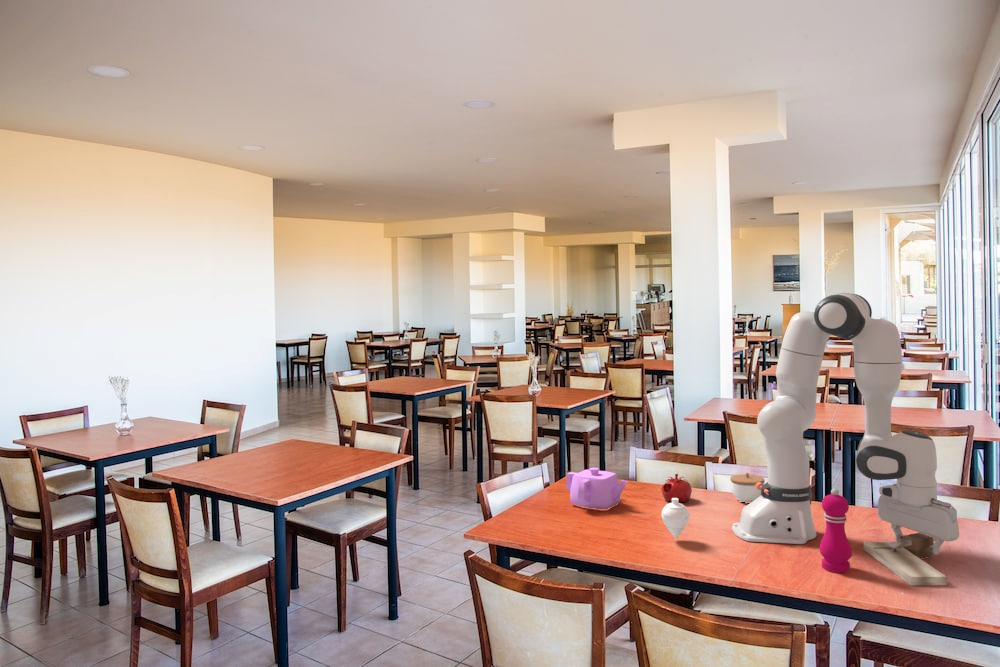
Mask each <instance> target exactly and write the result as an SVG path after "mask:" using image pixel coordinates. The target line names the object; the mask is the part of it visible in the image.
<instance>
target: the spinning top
mask: <svg viewBox="0 0 1000 667" xmlns="http://www.w3.org/2000/svg"><path fill="white" fill-rule="evenodd" d="M678 500H679V499H678V498H672V502H669V503H666V504H665V506H664V507H663V508H662V510H661V519H662V521H663V523H664V525H665V527H666V528H667V530H668V531H669V533H670V534H671V535H672V536H673V537H674V538H675V539H674V541H677V540H678V537H679V536H680V535H681V534H682V533H683V531H684V530H685V529H686V527H687V525H688V523H689V520H690V512H689V509H688V508H687V507H686V506H685V505H684V504H683V503H678Z"/></svg>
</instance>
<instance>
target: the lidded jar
mask: <svg viewBox="0 0 1000 667" xmlns="http://www.w3.org/2000/svg"><path fill="white" fill-rule="evenodd" d="M765 480H766V479H765V478H764V477H762V476H761V475H757V474H750V473H749V472H745V473H742V474H741V473H738V474H735V475H734V474H733V475H731V476H730V480H729V481H730V487H731V492H732V495H733V496H734V497H735V498H736V499H737V501H738V500H740V501H743V502H753V501H754V500H755V499H757V498H758V497H760V496H761V490H758V489H757V488H756V486H755V484H757V482H760V483H762V484H763V485H764V484H765Z"/></svg>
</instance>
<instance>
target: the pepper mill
mask: <svg viewBox="0 0 1000 667" xmlns="http://www.w3.org/2000/svg"><path fill="white" fill-rule="evenodd" d="M839 493H840V492H839V490H838V489H837V488H832V489H831V490H830V494H827V495H825V496H824V497H823V498H822V501H821V508H822V510H823V512H824V513H823V515H824V517H823V519H824V520H825V522H826V523H825V531H824V535H823V536H822V539H821V540H820V544H819V553H820V555H821V556H822V559H821V567H822V569H824V570H826V571H828V572H830V573H834V574H845V573H849V572H850V571H851V563H850V561H849V560H850V559H851V558H852V556H853V550H852V549H853V548H852V545H851V543H850V541H849V539H848V537H847V534H846V531H845V527H846V526H845V524H846V522H847V517H848V516H847V515H846V514H847V513H848V512H849V501H848V500H847V499H846V498H845V497H844V496H842V495H840V494H839Z"/></svg>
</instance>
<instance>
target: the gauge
mask: <svg viewBox="0 0 1000 667" xmlns="http://www.w3.org/2000/svg"><path fill="white" fill-rule="evenodd" d="M904 535H905V536H902V541H892V542H893V543H890V547H892V548H894V552H897V548H899V547H903V548H905V549H906V550H908V551H909V552H911V553H912V554H914V555H915V556H917V557H918V558H920V559H921V560H922V558H924V559H927V558H926V557H928V558H932V557H931V556H933V557H934V555H935V554H932V553H930V552H929V550H930V549H929V546H932V545H934V543H935V541H933V537H932V536H929V535H926V534H923V533H920V532H916V533H911V534H904Z"/></svg>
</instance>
